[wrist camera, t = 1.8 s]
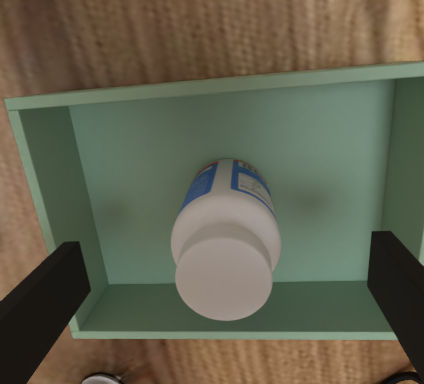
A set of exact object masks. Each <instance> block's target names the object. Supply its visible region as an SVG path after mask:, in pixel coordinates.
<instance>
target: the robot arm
mask: <svg viewBox="0 0 424 384" xmlns="http://www.w3.org/2000/svg"><path fill="white" fill-rule="evenodd" d="M367 287H368V289H369V291H370V292H371V294H372V296H373V297H374V299H375V301H376V303H377V304H378V306H379V308H380V310H381V311H382V313H383V315H384V316H385V318H386V320H387V322H388V323H389V325H390V327H391V329H392V330H393V332H394V334H395V335H396V337H397V339H398V341H399V342H400V344H401V346H402V348H403V349H404V351H405V353H406V354H407V356H408V358H409V360H410V361H411V363H412V365H413V367H414V368H415V370H416V372H417V373H418V375H419V377H420V379H421V380H422V382H423V384H424V266H423V265H422V264H421V263H420V262H419V261H418V260H417V259H416V257H415V256H414V255H413V254H412V253H411V252H410V251H409V250H408V249H407V248H406V247H405V246H404V245H403V243H402V242H401V241H400V240H399V239H398V238H397V237H396V236H395V235H394V234H393V233H392V232H391V231H372V232H371V244H370V255H369V267H368V278H367ZM90 292H91V287H90V283H89V279H88V274H87V270H86V266H85V262H84V258H83V254H82V250H81V246H80V242H79V241H68V242H63V243H62V244H61V245H60V246H59V247H58V248H57V249H56V250H55V251H54V252H52V253H51V254H50V255H49V256H48V257H47V258H46V259H45V260H44V261H43V262H42V263H41V264H40V265H39V266H38V267H37V268H36V269H34V270H33V271H32V272H31V273H30V274H29V275H28V276H27V277H26V278H25V279H24V280H23V281H22V282H21V283H20V284H19V285H17V286H16V287H15V288H14V289H13V290H12V291H11V292H10V293H9V294H8V295H7V296H6V297H5V298H4V299H3V300H2V301H0V384H26V383H27V382H28V381H29V379H30V378H31V376H32V375H33V373H34V372H35V371H36V369H37V368H38V366H39V365H40V363H41V362H42V360H43V359H44V358H45V356H46V355H47V353H48V352H49V350H50V349H51V348H52V346H53V345H54V343H55V342H56V340H57V339H58V338H59V336H60V335H61V333H62V332H63V330H64V329H65V327H66V326H67V325H68V323H69V322H70V320H71V319H72V317H73V316H74V315H75V313H76V312H77V310H78V309H79V307H80V306H81V305H82V303H83V302H84V300H85V299H86V297H87V296H88V294H89V293H90Z"/></svg>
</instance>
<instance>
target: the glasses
mask: <svg viewBox="0 0 424 384" xmlns="http://www.w3.org/2000/svg"><path fill="white" fill-rule="evenodd" d="M404 380H413V381H416V382H417V383H419V384H423V382H422V380H421V379H420V377H419V375H418V373H417V372H411V371H407V372H401V373H398V374H395V375H393V376H391V377H389V378H388V379H386V380H385V381H383V382H382V383H381V384H396V383H398V382H401V381H404Z"/></svg>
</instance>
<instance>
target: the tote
mask: <svg viewBox="0 0 424 384" xmlns="http://www.w3.org/2000/svg"><path fill="white" fill-rule="evenodd" d="M4 102H5V105H6V108H7V110H8V115H9V119H10V122H11V126H12V129H13V133H14V136H15V140H16V143H17V146H18V150H19V153H20V157H21V160H22V164H23V167H24V171H25V174H26V178H27V181H28V184H29V188H30V191H31V195H32V198H33V202H34V205H35V209H36V212H37V216H38V219H39V222H40V226H41V229H42V233H43V236H44V240H45V243H46V247H47V250H48V253H49V255H50V254H51V253H52V252H54V251H55V250H56V249H57V248H58V247H59V246H60V245H61V244H62V243H63V242H68V241H79V242H80V246H81V250H82V254H83V258H84V262H85V266H86V270H87V274H88V279H89V283H90V287H91V292H90V293H89V294H88V296H87V297H86V299H85V300H84V302H83V303H82V305H81V306H80V307H79V309H78V310H77V312H76V313H75V315H74V316H73V317H72V319H71V320H70V322H69V326H70V329H71V333H72V337H73V338H97V339H297V340H398V339H397V337H396V335H395V334H394V332H393V330H392V329H391V327H390V325H389V323H388V322H387V320H386V318H385V316H384V315H383V313H382V311H381V310H380V308H379V306H378V304H377V303H376V301H375V299H374V297H373V296H372V294H371V292H370V291H369V289H368V287H367V278H368V267H369V255H370V244H371V232H372V231H391V232H392V233H393V234H394V235H395V236H396V237H397V238H398V239H399V240H400V241H401V242H402V243H403V245H404V246H405V247H406V248H407V249H408V250H409V251H410V252H411V253H412V254H413V255H414V256H415V257H416V259H417V260H418V261H419V262H420V263H421V264H422V265H423V266H424V61H405V62H393V63H382V64H370V65H359V66H348V67H336V68H325V69H314V70H302V71H291V72H279V73H268V74H257V75H245V76H234V77H222V78H211V79H200V80H188V81H177V82H165V83H154V84H143V85H131V86H120V87H108V88H97V89H86V90H74V91H63V92H54V93H46V94H37V95H29V96H21V97H12V98H5V99H4ZM221 159H236V160H240V161H243V162H246V163H248V164H250V165H251V166H253V167H254V168H256V169H257V170H258V171H259V172H260V173H261V174H262V176H263V177H264V178H265V180H266V182H267V185H268V187H269V191H270V195H271V200H272V203H273V207H274V211H275V215H276V219H277V223H278V227H279V232H280V237H281V252H280V257H279V260H278V263H277V265H276V267H275V269H274V271H273V272H272V276H273V283H272V289H271V292H270V295H269V297H268V299H267V301H266V302H265V303H264V305H263V306H262V307H261V308H260V309H258V310H257V311H256V312H254V313H253V314H251V315H249V316H247V317H245V318H241V319H237V320H231V321H223V320H214V319H210V318H207V317H205V316H202V315H200V314H198V313H197V312H195V311H194V310H192V309H191V308H190V307H189V306H188V305H187V304H186V303H185V302H184V301H183V299H182V298H181V296H180V294H179V292H178V290H177V287H176V282H175V272H176V267H177V265H176V263H175V261H174V259H173V255H172V251H171V235H172V230H173V227H174V224H175V221H176V219H177V216H178V214H179V211H180V209H181V207H182V204H183V202H184V199H185V197H186V195H187V192H188V190H189V187H190V185H191V183H192V181H193V179H194V178H195V176H196V175H197V173H198V172H199V171H200V170H201V169H202V168H204V167H205V166H206V165H208V164H210V163H212V162H214V161H217V160H221Z"/></svg>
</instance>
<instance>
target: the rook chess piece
mask: <svg viewBox="0 0 424 384" xmlns="http://www.w3.org/2000/svg"><path fill="white" fill-rule="evenodd" d="M82 384H121V383H120V382H119V381H118V380H116V379H114V378H113V377H111V376H107V375H103V374H101V375H94V376H92V377H90V378H88V379H86V380H84V381H83V382H82Z"/></svg>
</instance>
